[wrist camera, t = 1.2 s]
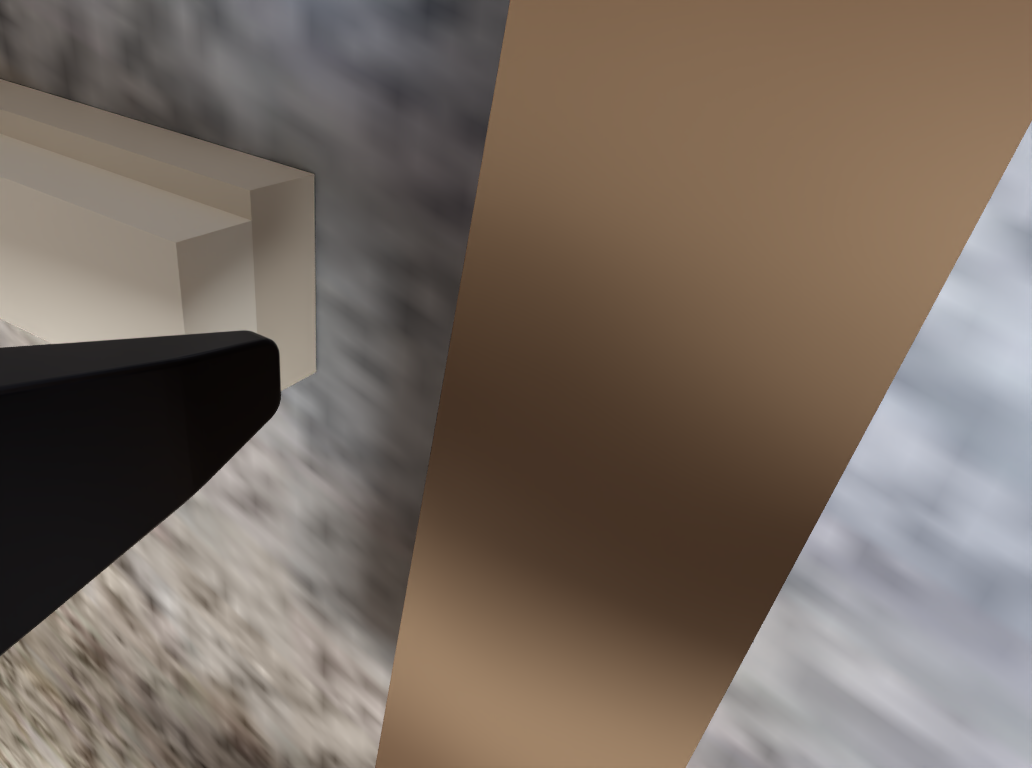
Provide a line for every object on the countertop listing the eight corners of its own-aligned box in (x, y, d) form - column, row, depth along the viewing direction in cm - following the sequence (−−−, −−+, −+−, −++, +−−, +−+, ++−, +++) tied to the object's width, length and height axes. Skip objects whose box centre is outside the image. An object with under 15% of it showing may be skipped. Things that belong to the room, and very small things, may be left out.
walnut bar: (648, 800, 16) (549, 1020, 13) (487, 697, 18) (356, 870, 14) (1406, -679, 6) (2004, -1691, 2) (871, -664, 7) (738, -1295, 4)
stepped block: (316, 372, 16) (195, 437, 14) (-19, 229, 20) (-157, 260, 18) (314, 174, 14) (172, 210, 12) (-57, 61, 18) (-217, 71, 16)
